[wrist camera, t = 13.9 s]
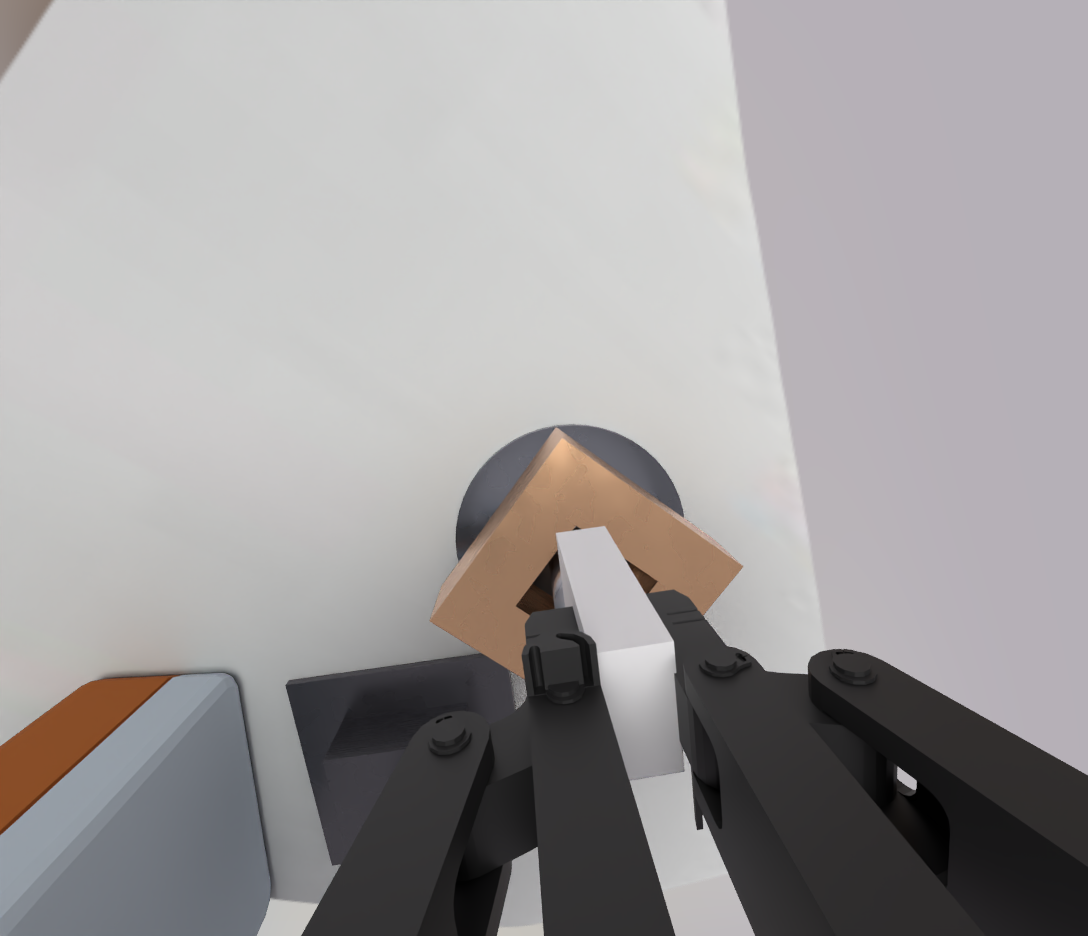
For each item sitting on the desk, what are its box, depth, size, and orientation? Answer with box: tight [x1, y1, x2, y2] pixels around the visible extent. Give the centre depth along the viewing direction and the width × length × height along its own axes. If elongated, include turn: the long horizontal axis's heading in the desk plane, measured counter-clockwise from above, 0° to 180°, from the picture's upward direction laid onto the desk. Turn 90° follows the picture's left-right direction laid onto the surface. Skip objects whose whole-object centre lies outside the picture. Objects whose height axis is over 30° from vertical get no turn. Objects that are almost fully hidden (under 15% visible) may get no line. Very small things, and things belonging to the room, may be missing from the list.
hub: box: [456, 424, 684, 609], centre depth 28 cm, size 14×14×9 cm
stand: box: [286, 654, 516, 866], centre depth 31 cm, size 14×14×8 cm
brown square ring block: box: [430, 427, 743, 679], centre depth 27 cm, size 11×11×4 cm
